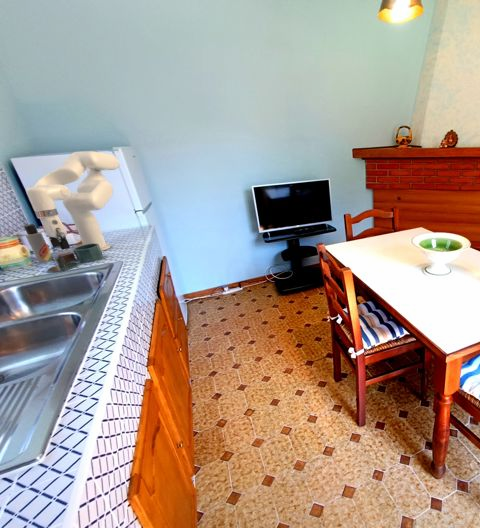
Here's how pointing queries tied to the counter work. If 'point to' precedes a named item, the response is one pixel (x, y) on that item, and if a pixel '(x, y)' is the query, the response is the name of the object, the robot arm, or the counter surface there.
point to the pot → (88, 253)
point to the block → (68, 257)
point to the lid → (61, 265)
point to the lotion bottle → (38, 244)
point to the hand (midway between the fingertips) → (61, 247)
